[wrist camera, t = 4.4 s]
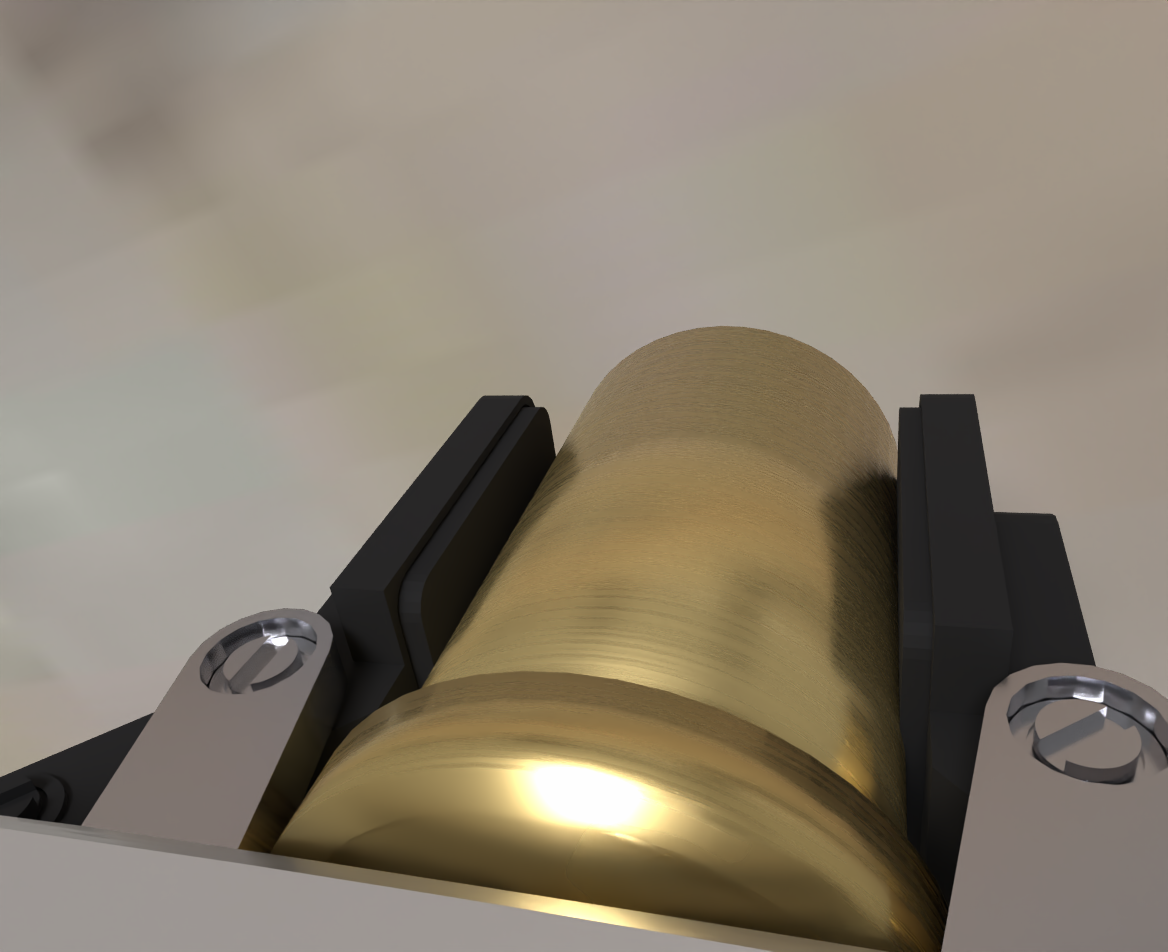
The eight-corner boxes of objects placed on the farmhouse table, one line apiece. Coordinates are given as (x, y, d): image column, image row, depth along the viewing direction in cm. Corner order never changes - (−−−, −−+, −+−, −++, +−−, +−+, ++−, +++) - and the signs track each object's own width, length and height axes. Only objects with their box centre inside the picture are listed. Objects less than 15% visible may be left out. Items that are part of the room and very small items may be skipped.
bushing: (526, 306, 11) (162, 732, 6) (938, 294, 10) (999, 831, 4) (577, 612, 14) (351, 1140, 8) (919, 636, 12) (945, 1287, 7)
